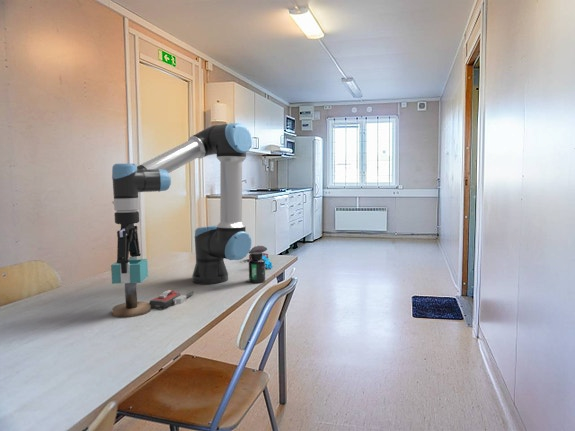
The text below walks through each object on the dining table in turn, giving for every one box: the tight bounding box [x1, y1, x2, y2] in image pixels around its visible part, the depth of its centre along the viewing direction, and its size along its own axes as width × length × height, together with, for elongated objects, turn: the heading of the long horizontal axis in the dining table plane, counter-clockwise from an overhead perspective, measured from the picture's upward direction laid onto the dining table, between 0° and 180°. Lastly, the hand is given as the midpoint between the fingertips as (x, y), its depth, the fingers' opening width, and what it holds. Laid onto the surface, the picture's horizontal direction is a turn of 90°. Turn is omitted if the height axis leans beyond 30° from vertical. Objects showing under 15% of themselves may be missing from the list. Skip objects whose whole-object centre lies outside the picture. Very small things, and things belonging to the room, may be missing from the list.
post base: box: [111, 301, 152, 318], centre depth 147 cm, size 12×12×2 cm
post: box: [124, 283, 138, 309], centre depth 146 cm, size 4×4×14 cm
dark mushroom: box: [248, 245, 269, 260], centre depth 229 cm, size 11×10×10 cm
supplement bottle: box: [248, 252, 266, 284], centre depth 184 cm, size 7×7×12 cm
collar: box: [110, 258, 149, 285], centre depth 146 cm, size 9×9×6 cm
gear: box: [261, 252, 273, 270], centre depth 211 cm, size 11×6×10 cm
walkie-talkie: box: [148, 289, 195, 310], centre depth 158 cm, size 9×4×20 cm
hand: (130, 279), depth 146 cm, fingers closed on collar, 9 cm apart
